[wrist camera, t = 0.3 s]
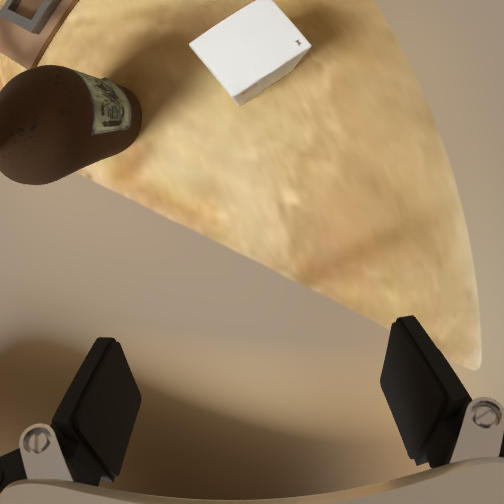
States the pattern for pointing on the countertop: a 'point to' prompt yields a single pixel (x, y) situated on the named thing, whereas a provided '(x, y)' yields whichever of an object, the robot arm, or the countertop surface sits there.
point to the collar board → (30, 28)
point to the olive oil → (62, 123)
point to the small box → (251, 49)
